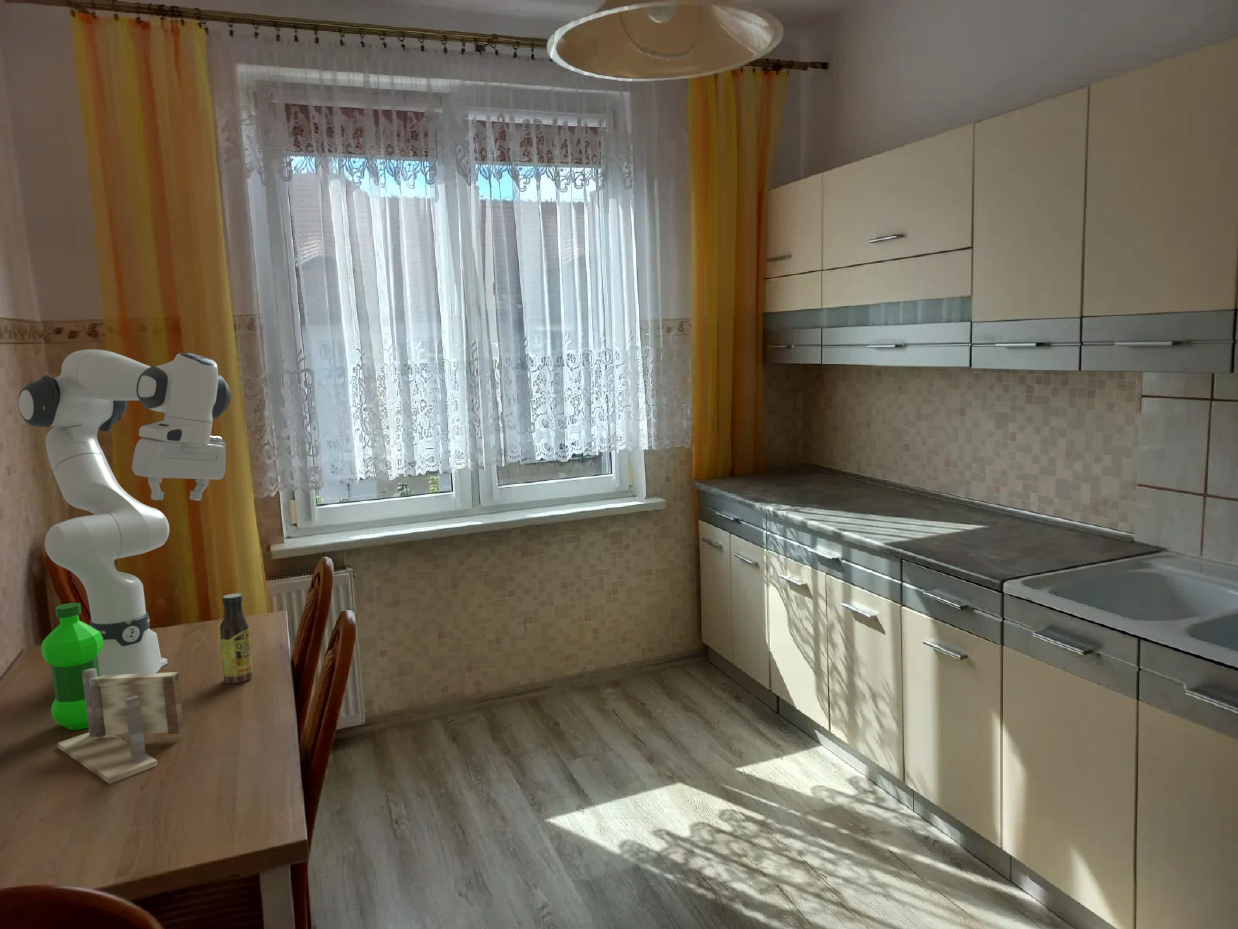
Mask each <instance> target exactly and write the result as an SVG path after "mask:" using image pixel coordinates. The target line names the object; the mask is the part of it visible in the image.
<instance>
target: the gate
mask: <svg viewBox="0 0 1238 929" xmlns="http://www.w3.org/2000/svg"><path fill="white" fill-rule="evenodd" d="M179 678H180V677H179V672H178V671H177V672H176V671H174V672H173V671H172V672H170V671H169V672H157V673H146V674H122V675H102V676H101V677H99V676H98V677H93V678H90V679H89V683H90V691H91V700H92V708H93V716H94V725H95V733H96V737H103V736H106V735H116V736H120V735H125V736H126V735H129V734H128V725H127V716H126V707H125V699H126V698H129V697H133V696H136V695H137V696H139V699H140V708H141V717H142V726H143V735H145V734H146V735H148V734H165V733H166V734H168V735H174V734H175V735H176V734H180V733H181V732H183V730H184V729H185V726H184V719H183V708H182V699H181V698H182V697H181V689H180V681H179Z"/></svg>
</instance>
